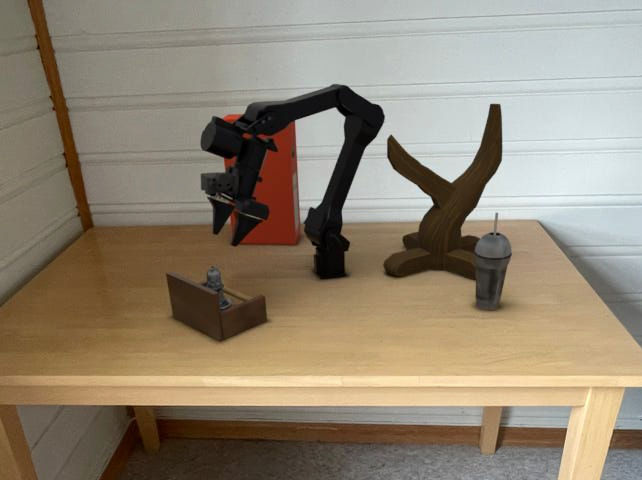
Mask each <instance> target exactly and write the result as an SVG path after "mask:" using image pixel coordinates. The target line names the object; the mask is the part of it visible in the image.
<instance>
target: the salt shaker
mask: <svg viewBox="0 0 642 480" xmlns="http://www.w3.org/2000/svg"><path fill="white" fill-rule="evenodd" d="M205 277H206V280H207V284H208V285H207V286H206V287H207V288H209V289H212V290H214V291H216V292H218V293H219V300H220V308H221V311H223V310H225V309H228V308H230V307H231V305H232V300H231V299H229V298H227V297H225V295H224V294H225V293H224V292H223V287H224V286H225V284H224V283H223V281H222V272H221V270H220V269H218V268H215V265H214V264H212V265H211V266H210V268H209V269H208V270H207V271H206V273H205Z"/></svg>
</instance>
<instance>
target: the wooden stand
mask: <svg viewBox="0 0 642 480" xmlns="http://www.w3.org/2000/svg"><path fill="white" fill-rule="evenodd" d="M485 122H486V123H485V126H484V130H483V132H482V138H481V142H480V144H479V148H478V150H477V152H476V154H475V156H474V158H473V160H472V162H471V163H470V165H469V166H468V167H467V168H466V169H465V171H464V172H463V173H461V174H460V175H459V176H458V177H457V178H455V179H454V180H453V181H451V182H450V181H449V180H447V179H445V178H443V177H442V176H441V175H439V174H437V172H435V171H433V170H432V169H430V168H429V167H427V166H425V165H423V164H422V163H421V162H420V161H419V160H418V159H416V158H415V157H414V156H412V155H411V154H410V153H408V151H406V149H405V148H404V147H403V146H402V145H401V144H400V142H398V140H397V139H396V137H395V136H394V135H393V134H389V136H388V137H387V139H386V157H387V160H388V162H389V163H390V166H391V167H392V170H394V171H395V172H396V173H398V174H399V175H400V176H402V177H403V178H405V179H406V180H407V181H409V182H410V183H412V184H414V185H415V186H417V187H418V188H419V189H420V190H421V192H423V193H424V194H426V195H427V196H428V197H430V200H431V201H432V206H431V207H430V208H429V209H428V210H427V211H426V213H424V215H423V217H422V219H421V221H420V223H419V225H418V230H417V231H415V232H411V233H407V234H404V235H403V236H402V244H403V246H404V247H405V248H406V250H403V251H398V252H395V253H393V254H391V255H390V256H389V257H386V259H384V262H383V265H382V267H383V269H384V271H385V272H386V273H388V274H390V275H393V276H396V277H398V276H399V277H408V276H411V275H415V274H419V273H423V272H427V271H446V272H449V273H451V274H454V275H457V276H460V277H463V278H466V279H471V280H472V279H473V280H474V279H475V280H476V263H475V254H474V251H475V248H476V245H477V243H478V241H479V240H480V238H481V237H478V236H475V235H471V234H468V235H462V227H463V225H464V223H465V221H466V219H467V217H469V216H470V214H471V213H472V212H473V211H474V210H475V209H476V208H477V207H478V204H479V202H480V200H481V198H482V195H483V193H484V190H485V188H486V186H487V185H488V183H489V182H490V181H491V179H493V177H494V176H495V174H497V171H498V169H499V168H500V165H501V164H502V161H503V115H502V104H501V103H490V104H489V107H488V113H487V118H486V121H485Z"/></svg>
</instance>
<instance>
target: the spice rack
mask: <svg viewBox="0 0 642 480" xmlns="http://www.w3.org/2000/svg"><path fill="white" fill-rule="evenodd" d="M165 276H166V282H167V288H168V295H169V301H170V307H171V313H172V317H173V318H174V319H176V320H178V321H180V322H181V323H183V324H185V325H187V326H189V327H191V328H193V329H195V330H196V331H199V332H200V333H202V334H204V335H206V336H208V337H210V338H212V339H214V340H216V341H217V342H218V343H219V342H222V341H225V340H226V339H229V338H231V337H233V336H236V335H238V334H241V333H243V332H245V331H247V330H250V329H252V328H254V327H257V326H258V325H261V324H264V323H267V322H268V314H267V299H266V295H263V294H260V295H258V296H255V297H252V296H249V295H247V294H244V293H242V292H240V291H237V290H235V289H233V288H230V287H229V286H226V285H224V287H223V294H226V295H228V296H231V297H232V298H235V299H238V300H239V301H242V302H240V303H237V304H235V305H233V306H230V308H228V309H225V310H223V311H221V308H220V300H219V293H218V292H216V291H214V290H212V289H209V288H207V287H206V286H207V285H208V284H207V279H205V280H201V281H199V282H196V281H194V280H191V279H189V278H187V277H184V276H183V275H180V274H178V273H175V272H173V271H170V270H169V271H167V272H165Z"/></svg>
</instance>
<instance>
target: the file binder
mask: <svg viewBox="0 0 642 480" xmlns="http://www.w3.org/2000/svg"><path fill="white" fill-rule="evenodd" d="M243 114H244V113H228V114H226V115H224V116H223V117H222V119H223V120H225V121H226V122H229V123H233V122H234V121H235V120H237V119H238V118H239V117H240V116H242V115H243ZM251 136H252V135H249V134H245V133H244V135H243V137H245V138H249V137H251ZM257 137H260V138H262V139H266V138H267V137H270V138H273V139H274V143H275V145H276V147H277V149H278V152H273V151H270V150H268V151H267V154H266V157H265V160H264V163H263V166H262V169H261V171H260V172H261V173H260V176H259V177H262V178H263V180H262V183H260V182H257V185H256V188H255V191H254V194H253V196H254V197H256V201H259V202H261V203H263V204H265V205H267V206H268V207H269V210H270V213H269V216H268V219H267V220H264V219H261V218H260V219H261V220H263V222H262V223H259V224H258V225H257V226H256V227H255V228H254V229H253V230H252V231H251V232H250V233H249V234H248V235H247V236H246V237H245V238H244V239H243V240H242V241H241V242H240V243H239V244H238V245H276V246H277V245H280V246H281V245H282V246H296V245H297V243H298V241H299V240H300V238H301V235H302V232H301V230H302V229H301V213H300V212H301V211H300V193H299V169H298V152H297V131H296V121H294V122H292V123H291V124H290V125H289V126H288V127H287V128H285V129H284V130H282V131H280V132H278V133H276V134H275V135H272V136H265V135H262V134H261V135H258V136H257ZM234 160H235V156H234V157H233V158H232V159H229V160H228V159H225V158H223V163H224V164H223V165H224V172H225V171H226V168H227V167H228V166H232V167H233V163H234ZM236 163H237V162H236ZM258 171H259V170H258ZM229 203H230V204H232V205H234V206H235V204H234V203H232V202H229ZM234 211H238V210H236V209H234ZM238 212H240V211H238ZM229 220H230V230H231V237H232V236H233V231H234V227H235V222H236V218H235V216H234V213H233V212H232V213H231V215H230V217H229Z"/></svg>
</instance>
